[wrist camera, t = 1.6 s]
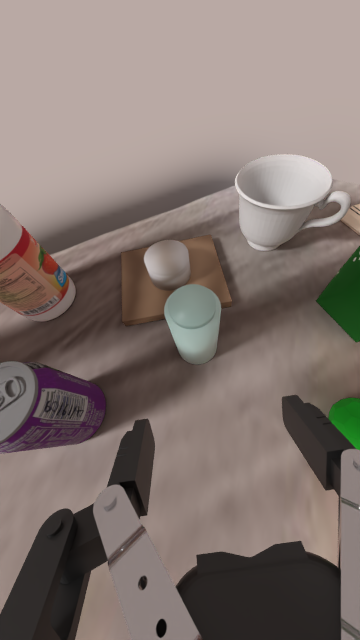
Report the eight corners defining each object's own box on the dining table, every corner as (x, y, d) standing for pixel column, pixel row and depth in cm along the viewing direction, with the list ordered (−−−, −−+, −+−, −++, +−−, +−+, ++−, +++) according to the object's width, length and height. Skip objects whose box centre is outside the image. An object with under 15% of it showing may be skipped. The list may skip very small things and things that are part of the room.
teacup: (302, 284, 31) (340, 226, 22) (215, 249, 36) (218, 192, 27) (330, 234, 34) (372, 167, 26) (248, 209, 40) (259, 147, 31)
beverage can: (89, 371, 28) (19, 339, 18) (119, 411, 26) (56, 400, 15) (45, 411, 27) (-63, 401, 16) (71, 458, 24) (-38, 484, 13)
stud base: (125, 326, 31) (110, 307, 26) (124, 258, 38) (112, 233, 33) (230, 306, 30) (235, 283, 26) (210, 241, 37) (211, 213, 32)
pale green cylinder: (180, 367, 27) (165, 335, 18) (175, 331, 30) (159, 285, 20) (221, 360, 27) (228, 324, 17) (212, 324, 29) (214, 275, 20)
